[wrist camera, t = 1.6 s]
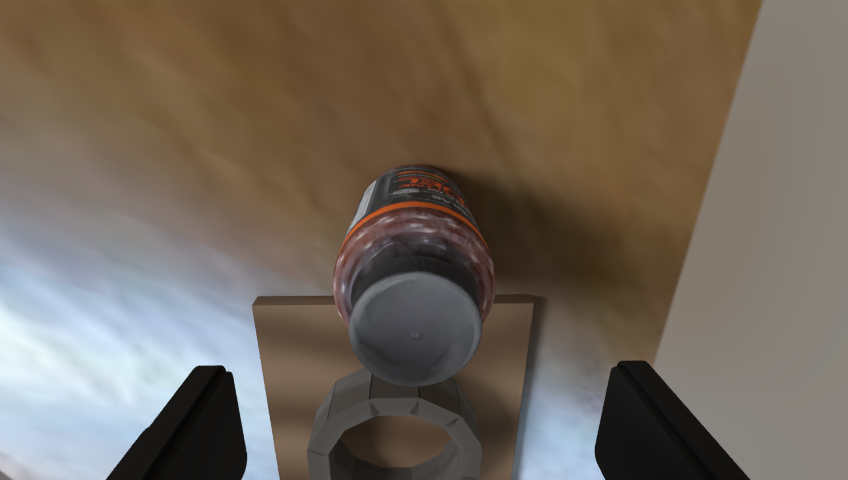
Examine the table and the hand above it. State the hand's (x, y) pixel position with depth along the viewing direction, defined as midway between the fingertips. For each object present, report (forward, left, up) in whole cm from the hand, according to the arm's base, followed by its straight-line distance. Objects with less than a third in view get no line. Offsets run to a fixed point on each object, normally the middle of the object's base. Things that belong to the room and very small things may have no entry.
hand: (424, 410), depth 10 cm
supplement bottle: (-1, 0, -14) cm, 14 cm away
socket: (+13, -1, -14) cm, 19 cm away
